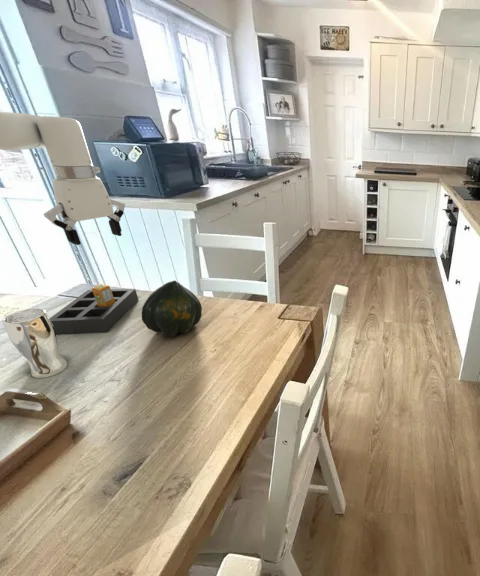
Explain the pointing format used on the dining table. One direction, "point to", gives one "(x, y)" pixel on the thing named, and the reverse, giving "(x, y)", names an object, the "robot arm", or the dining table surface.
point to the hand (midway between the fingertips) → (97, 239)
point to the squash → (171, 309)
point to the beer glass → (35, 341)
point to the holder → (93, 313)
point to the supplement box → (103, 295)
